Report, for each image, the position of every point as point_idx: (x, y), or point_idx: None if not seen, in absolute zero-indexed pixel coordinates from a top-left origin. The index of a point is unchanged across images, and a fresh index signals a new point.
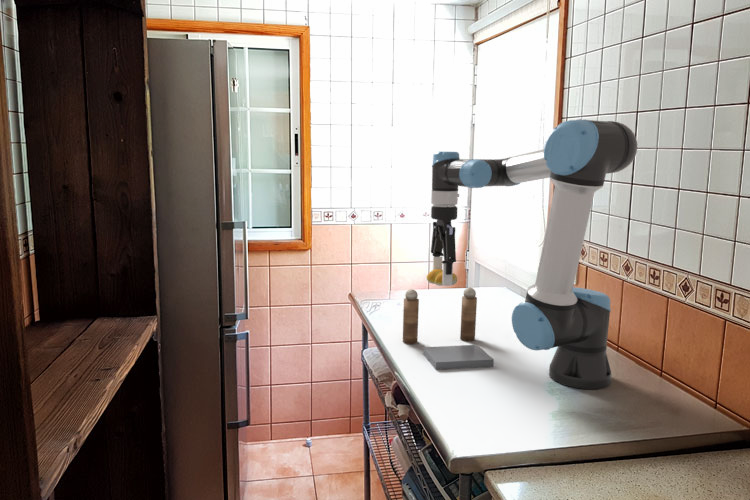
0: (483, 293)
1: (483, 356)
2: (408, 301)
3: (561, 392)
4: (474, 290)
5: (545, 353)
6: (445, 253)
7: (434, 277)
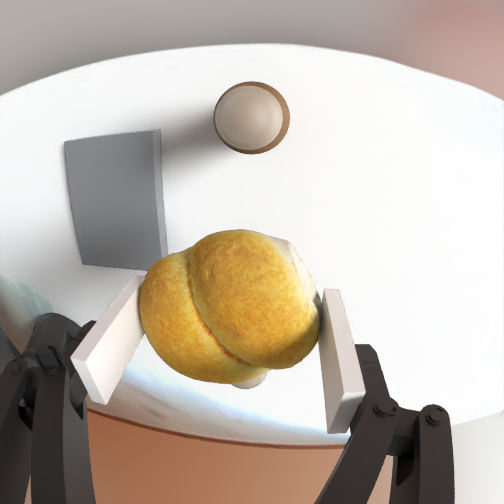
0: (499, 388)
1: (94, 252)
2: (221, 96)
3: (26, 299)
4: (233, 385)
5: (160, 366)
6: (37, 416)
7: (191, 270)
